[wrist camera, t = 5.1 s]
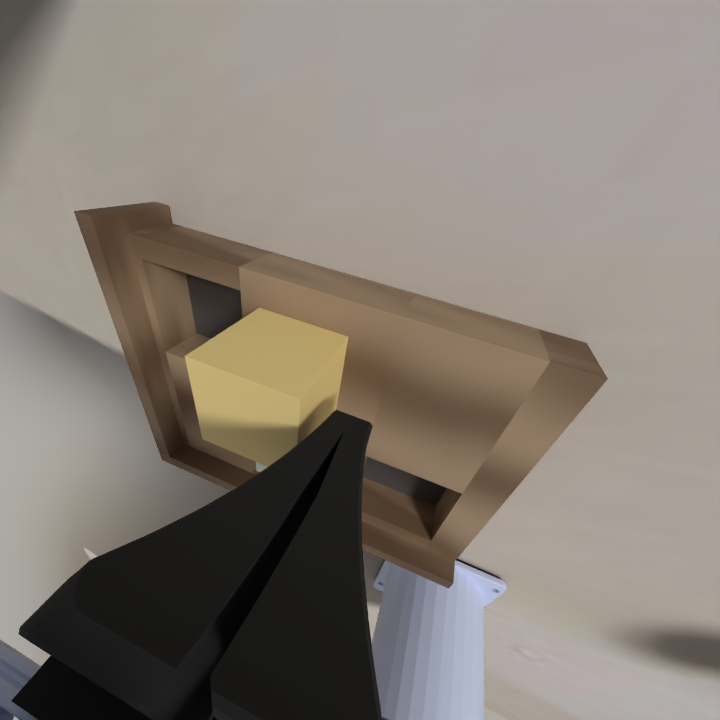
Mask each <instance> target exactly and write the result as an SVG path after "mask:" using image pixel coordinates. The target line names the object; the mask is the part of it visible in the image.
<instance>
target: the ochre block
mask: <svg viewBox="0 0 720 720" xmlns="http://www.w3.org/2000/svg"><path fill="white" fill-rule="evenodd" d="M347 343H348V336H345V335H342V334H339V333H336V332H333V331H330V330H326V329H323V328H320V327H317V326H314V325H311V324H308V323H305V322H302V321H299V320H296V319H293V318H290V317H286V316H283V315H280V314H277V313H274V312H271V311H268V310H265V309H262V308H258V309H257V310H255V311H254V312H252V313H250V314H249V315H247V316H246V317H244V318H243V319H241V320H240V321H238V322H237V323H235V324H233V325H232V326H230V327H229V328H227V329H226V330H224V331H223V332H221V333H220V334H218V335H216V336H215V337H213V338H212V339H210V340H209V341H207V342H206V343H204V344H203V345H201V346H199V347H198V348H196V349H195V350H193V351H192V352H190V353H189V354H187V355H186V356H185V360H186V365H187V370H188V374H189V379H190V384H191V388H192V393H193V398H194V402H195V407H196V412H197V416H198V421H199V426H200V430H201V435H202V439H203V440H206V441H208V442H210V443H213V444H215V445H217V446H220V447H222V448H224V449H227V450H229V451H232V452H234V453H236V454H239V455H241V456H243V457H246V458H248V459H250V460H253V461H255V462H257V463H260V464H262V465H265V466H267V467H269V466H270V465H271V464H273V463H274V462H275V461H277V460H278V459H279V458H281V457H282V456H283V455H285V454H286V453H287V452H289V451H290V450H291V449H292V448H294V447H295V446H296V445H297V444H299V443H300V442H301V441H302V440H303V439H305V438H306V437H307V436H308V435H309V434H310V433H312V432H313V431H314V430H315V429H316V428H317V427H318V426H319V425H320V424H322V423H323V422H324V421H325V420H326V419H327V418H328V417H329V416H330V415H331V414H332V413H333V411H335V410H336V408H337V402H338V396H339V390H340V384H341V378H342V372H343V366H344V360H345V354H346V349H347Z"/></svg>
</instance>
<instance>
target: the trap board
mask: <svg viewBox="0 0 720 720" xmlns="http://www.w3.org/2000/svg"><path fill="white" fill-rule="evenodd" d="M74 213H75V216H76V218H77V221H78V224H79V227H80V230H81V232H82V235H83V238H84V241H85V244H86V247H87V249H88V252H89V255H90V258H91V261H92V263H93V266H94V269H95V272H96V275H97V278H98V280H99V283H100V286H101V289H102V292H103V294H104V297H105V300H106V303H107V306H108V309H109V311H110V314H111V317H112V320H113V323H114V325H115V328H116V331H117V334H118V337H119V340H120V342H121V345H122V348H123V351H124V354H125V356H126V359H127V362H128V365H129V368H130V371H131V373H132V376H133V379H134V382H135V385H136V387H137V390H138V393H139V396H140V399H141V402H142V404H143V407H144V410H145V413H146V416H147V418H148V421H149V424H150V427H151V430H152V433H153V435H154V438H155V441H156V444H157V447H158V449H159V452H160V455H161V458H162V460H164V461H166V462H168V463H170V464H173V465H175V466H177V467H179V468H182V469H184V470H186V471H189V472H190V473H193V474H195V475H197V476H200V477H202V478H204V479H206V480H208V481H210V482H213V483H215V484H217V485H219V486H222V487H224V488H226V489H228V490H230V491H232V490H234V489H235V488H237V487H238V486H240V485H242V484H243V483H245V482H246V481H248V480H249V479H251V478H252V477H254V476H256V475H257V474H258V473H260V472H261V471H263V470H264V469H266V468H267V466H265V465H262V464H260V463H257V462H255V461H253V460H250V459H248V458H246V457H243V456H241V455H239V454H236V453H234V452H232V451H229V450H227V449H224V448H222V447H220V446H217V445H215V444H213V443H210V442H208V441H206V440H203V439H202V435H201V430H200V426H199V421H198V416H197V412H196V407H195V402H194V398H193V393H192V388H191V384H190V379H189V374H188V370H187V365H186V360H185V356H186V355H187V354H189V353H190V352H192V351H193V350H195V349H196V348H198V347H199V346H201V345H203V344H204V343H206V342H207V341H209V340H210V339H212V338H213V337H215V336H216V335H218V334H220V333H221V332H223V331H224V330H226V329H227V328H229V327H230V326H232V325H233V324H235V323H237V322H238V321H240V320H241V319H243V318H244V317H246V316H247V315H249V314H250V313H252V312H254V311H255V310H257V309H258V308H262V309H265V310H268V311H271V312H274V313H277V314H280V315H283V316H286V317H290V318H293V319H296V320H299V321H302V322H305V323H308V324H311V325H314V326H317V327H320V328H323V329H326V330H330V331H333V332H336V333H339V334H342V335H345V336H348V343H347V349H346V354H345V360H344V366H343V372H342V378H341V384H340V390H339V396H338V402H337V408H336V410H339V411H341V412H344V413H347V414H349V415H352V416H355V417H357V418H360V419H363V420H365V421H368V422H370V423H371V424H372V426H373V427H372V430H371V434H370V437H369V441H368V445H367V448H366V454H365V461H364V471H363V484H362V548H363V550H364V551H366V552H368V553H370V554H373V555H375V556H377V557H379V558H381V559H384V560H386V561H388V562H390V563H393V564H395V565H397V566H399V567H401V568H404V569H406V570H408V571H410V572H413V573H415V574H417V575H419V576H421V577H424V578H426V579H428V580H430V581H433V582H435V583H437V584H439V585H441V586H444V587H446V588H448V589H449V588H450V587H451V586H452V585H453V583H454V568H455V560H456V559H457V558H458V557H459V556H460V554H461V553H462V552H463V551H464V550H465V548H466V547H467V546H468V545H469V544H470V542H471V541H472V540H473V539H474V538H475V536H476V535H477V534H478V533H479V532H480V531H481V529H482V528H483V527H484V526H485V525H486V523H487V522H488V521H489V520H490V519H491V517H492V516H493V515H494V514H495V513H496V511H497V510H498V509H499V508H500V507H501V505H502V504H503V503H504V502H505V501H506V500H507V498H508V497H509V496H510V495H511V494H512V492H513V491H514V490H515V489H516V488H517V486H518V485H519V484H520V483H521V482H522V480H523V479H524V478H525V477H526V476H527V474H528V473H529V472H530V471H531V470H532V469H533V467H534V466H535V465H536V464H537V463H538V461H539V460H540V459H541V458H542V457H543V455H544V454H545V453H546V452H547V451H548V449H549V448H550V447H551V446H552V445H553V443H554V442H555V441H556V440H557V439H558V438H559V436H560V435H561V434H562V433H563V432H564V430H565V429H566V428H567V427H568V426H569V424H570V423H571V422H572V421H573V420H574V418H575V417H576V416H577V415H578V414H579V413H580V411H581V410H582V409H583V408H584V407H585V405H586V404H587V403H588V402H589V401H590V399H591V398H592V397H593V396H594V395H595V393H596V392H597V391H598V390H599V389H600V387H601V386H602V385H603V384H604V383H605V382H606V380H607V377H606V375H605V373H604V372H603V370H602V368H601V367H600V365H599V363H598V362H597V360H596V358H595V357H594V355H593V353H592V351H591V350H590V348H589V346H588V345H587V343H584V342H581V341H577V340H574V339H570V338H567V337H563V336H560V335H556V334H553V333H549V332H546V331H542V330H539V329H535V328H532V327H529V326H525V325H522V324H518V323H515V322H511V321H508V320H504V319H501V318H497V317H494V316H490V315H487V314H483V313H480V312H476V311H473V310H470V309H466V308H463V307H459V306H456V305H452V304H449V303H445V302H442V301H438V300H435V299H431V298H428V297H424V296H421V295H418V294H414V293H411V292H407V291H404V290H400V289H397V288H393V287H390V286H386V285H383V284H379V283H376V282H372V281H369V280H366V279H362V278H359V277H355V276H352V275H348V274H345V273H341V272H338V271H334V270H331V269H327V268H324V267H320V266H317V265H313V264H310V263H307V262H303V261H300V260H296V259H293V258H289V257H286V256H282V255H279V254H275V253H272V252H268V251H265V250H261V249H258V248H255V247H251V246H248V245H244V244H241V243H237V242H234V241H230V240H227V239H223V238H220V237H216V236H213V235H209V234H206V233H203V232H199V231H196V230H192V229H189V228H185V227H182V226H178V225H175V224H172V220H171V214H170V209H169V206H168V205H164V204H161V203H157V202H150V203H141V204H133V205H124V206H115V207H107V208H98V209H89V210H81V211H74ZM336 410H335V411H336Z"/></svg>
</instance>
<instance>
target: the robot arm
mask: <svg viewBox="0 0 720 720" xmlns="http://www.w3.org/2000/svg"><path fill="white" fill-rule="evenodd" d="M372 427H373V426H372V424H371V423H370V422H368V421H365V420H363V419H360V418H357V417H355V416H352V415H349V414H347V413H344V412H341V411H339V410H336V411H333V413H332V414H331V415H330V416H329V417H328V418H327V419H326V420H325V421H324V422H323V423H322V424H320V425H319V426H318V427H317V428H316V429H315V430H314V431H313V432H312V433H310V434H309V435H308V436H307V437H306V438H305V439H303V440H302V441H301V442H300V443H299V444H297V445H296V446H295V447H294V448H292V449H291V450H290V451H289V452H287V453H286V454H285V455H283V456H282V457H281V458H279V459H278V460H277V461H275V462H274V463H273V464H271V465H270V466H269V467H267V468H266V469H264V470H263V471H261V472H260V473H258V474H257V475H256V476H254V477H252V478H251V479H249V480H248V481H246V482H245V483H243V484H242V485H240V486H238V487H237V488H235V489H234V490H232V491H230V492H228V493H227V494H225V495H223V496H222V497H220V498H218V499H216V500H215V501H213V502H212V503H209V504H208V505H206V506H204V507H202V508H200V509H198V510H197V511H195V512H193V513H191V514H189V515H187V516H185V517H183V518H181V519H179V520H177V521H175V522H173V523H171V524H169V525H167V526H165V527H163V528H161V529H159V530H157V531H155V532H153V533H151V534H148V535H146V536H144V537H142V538H139V539H137V540H135V541H132V542H130V543H128V544H126V545H123V546H121V547H119V548H117V549H114V550H112V551H110V552H107V553H105V554H103V555H101V556H98V557H96V558H94V559H92V560H90V561H89V562H88V563H87V564H86V565H84V566H83V567H82V568H81V569H80V570H79V571H78V572H76V573H75V574H74V575H73V576H71V577H70V578H69V579H68V580H67V581H66V582H65V583H64V584H63V585H62V586H61V587H60V588H59V589H58V590H57V591H56V592H55V593H54V594H53V595H52V596H51V597H50V598H49V599H48V600H47V601H46V602H45V603H44V604H43V605H42V606H41V607H40V608H39V609H38V610H37V611H36V612H35V613H34V614H33V615H32V616H31V617H30V618H29V619H28V620H27V621H26V622H25V623H24V624H23V625H22V626H21V627H20V629H19V634H20V635H21V636H22V637H24V638H25V639H27V640H28V641H30V642H31V643H33V644H34V645H36V646H37V647H39V648H40V649H42V650H43V651H45V652H47V653H48V654H50V655H51V656H50V657H49V658H48V659H47V661H46V662H45V663H44V664H43V665H42V666H40V665H39V664H37V663H35V662H34V661H32V660H31V659H29V658H28V657H26V656H25V655H23V654H22V653H20V652H19V651H17V650H15V649H14V648H12V647H11V646H9V645H8V644H6V643H4V642H3V641H1V640H0V720H13V718H14V716H15V717H17V718H18V719H19V720H484V608H485V607H486V606H487V605H488V604H490V603H491V602H492V601H493V600H495V599H496V598H497V597H498V596H500V595H501V594H502V593H503V592H505V591H506V583H505V582H504V581H502V580H501V579H498V578H496V577H494V576H491V575H489V574H487V573H484V572H482V571H480V570H477V569H475V568H473V567H470V566H468V565H466V564H463V563H461V562H459V561H457V560H455V568H454V583H453V585H452V586H451V587H450V588H449V589H448V588H446V587H444V586H441V585H439V584H437V583H435V582H433V581H430V580H428V579H426V578H424V577H421V576H419V575H417V574H415V573H413V572H410V571H408V570H406V569H404V568H401V567H399V566H397V565H395V564H393V563H390V562H388V561H386V560H385V562H384V563H383V565H382V567H381V569H380V571H379V573H378V575H377V577H376V579H375V581H374V585H373V586H374V588H376V589H377V590H379V591H381V592H383V596H382V600H381V605H380V609H379V613H378V618H377V622H376V627H375V631H374V635H373V640H372V644H371V636H370V628H369V620H368V610H367V599H366V589H365V578H364V565H363V548H362V484H363V471H364V461H365V454H366V448H367V445H368V441H369V437H370V434H371V430H372Z"/></svg>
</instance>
